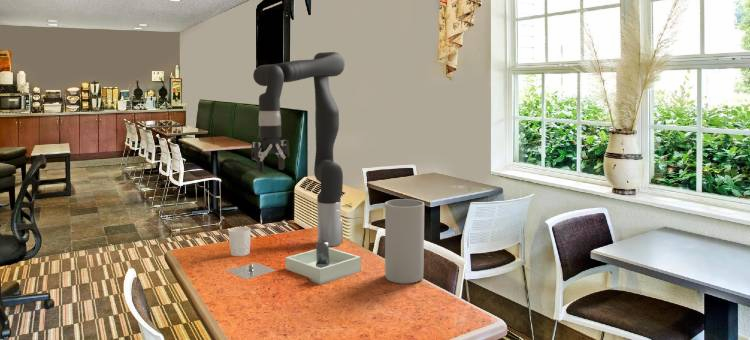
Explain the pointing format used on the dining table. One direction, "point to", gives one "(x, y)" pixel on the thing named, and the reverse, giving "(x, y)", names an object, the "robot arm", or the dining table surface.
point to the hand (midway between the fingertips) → (271, 170)
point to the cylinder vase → (404, 240)
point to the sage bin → (338, 267)
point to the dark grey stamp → (322, 254)
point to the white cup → (239, 241)
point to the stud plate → (251, 270)
